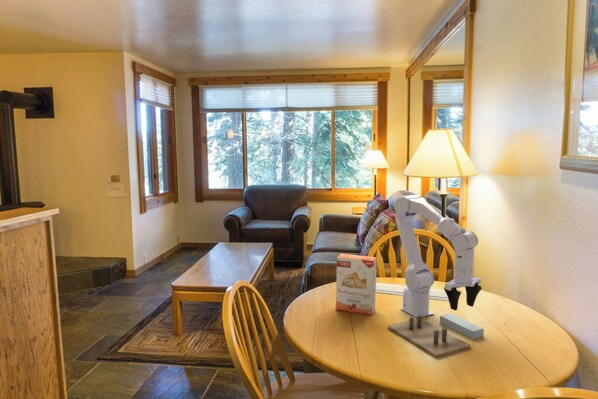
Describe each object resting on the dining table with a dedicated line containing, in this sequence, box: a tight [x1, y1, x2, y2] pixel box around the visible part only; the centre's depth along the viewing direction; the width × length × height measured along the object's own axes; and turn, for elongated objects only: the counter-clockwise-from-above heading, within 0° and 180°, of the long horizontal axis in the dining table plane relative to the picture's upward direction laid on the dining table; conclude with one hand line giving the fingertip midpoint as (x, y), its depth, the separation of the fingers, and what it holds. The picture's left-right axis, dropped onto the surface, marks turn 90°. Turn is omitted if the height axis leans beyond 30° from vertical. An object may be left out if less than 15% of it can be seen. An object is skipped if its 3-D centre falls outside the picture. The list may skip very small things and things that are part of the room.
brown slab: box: [387, 315, 472, 359], centre depth 128 cm, size 22×14×5 cm, turn 26°
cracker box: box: [335, 253, 378, 316], centre depth 150 cm, size 14×6×21 cm, turn 68°
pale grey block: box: [439, 312, 485, 340], centre depth 135 cm, size 14×5×3 cm, turn 26°
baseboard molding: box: [376, 282, 449, 302], centre depth 170 cm, size 31×3×12 cm
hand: (461, 307), depth 134 cm, fingers open, 7 cm apart
